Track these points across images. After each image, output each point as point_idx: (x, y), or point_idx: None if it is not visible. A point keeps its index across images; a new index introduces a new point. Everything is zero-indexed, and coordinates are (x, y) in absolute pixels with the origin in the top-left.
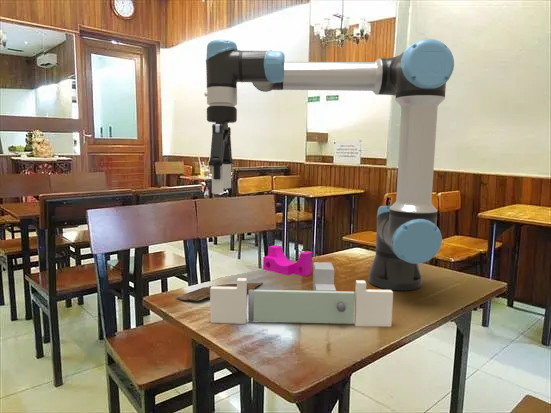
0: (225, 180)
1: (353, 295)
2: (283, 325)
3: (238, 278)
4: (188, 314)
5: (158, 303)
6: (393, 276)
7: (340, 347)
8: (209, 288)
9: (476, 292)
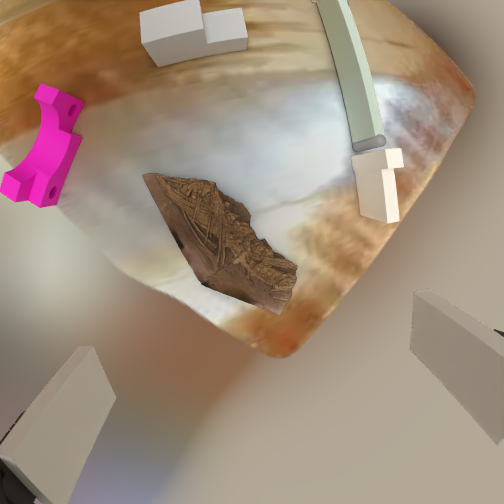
0: (87, 405)
1: None
2: None
3: (390, 166)
4: (344, 262)
5: (305, 331)
6: None
7: (393, 31)
8: (214, 274)
9: None
